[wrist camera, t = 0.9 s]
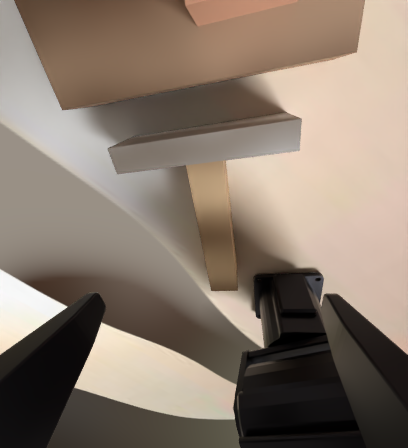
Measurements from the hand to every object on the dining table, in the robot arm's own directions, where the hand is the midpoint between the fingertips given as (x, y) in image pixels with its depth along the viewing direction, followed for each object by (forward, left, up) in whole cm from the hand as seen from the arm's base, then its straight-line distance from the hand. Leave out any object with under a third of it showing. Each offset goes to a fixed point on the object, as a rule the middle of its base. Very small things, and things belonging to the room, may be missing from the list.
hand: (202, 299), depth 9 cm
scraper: (-2, 0, -11) cm, 11 cm away
